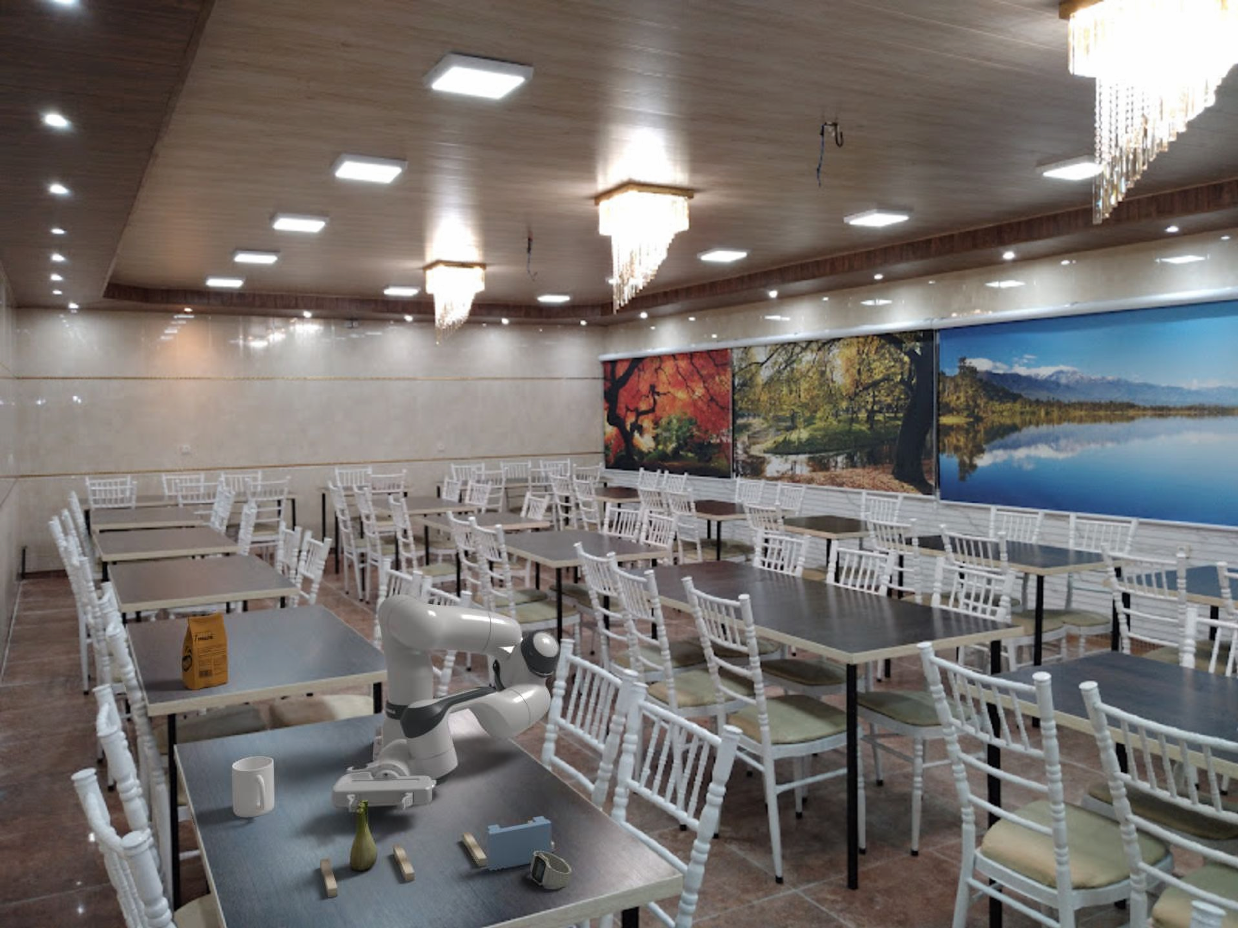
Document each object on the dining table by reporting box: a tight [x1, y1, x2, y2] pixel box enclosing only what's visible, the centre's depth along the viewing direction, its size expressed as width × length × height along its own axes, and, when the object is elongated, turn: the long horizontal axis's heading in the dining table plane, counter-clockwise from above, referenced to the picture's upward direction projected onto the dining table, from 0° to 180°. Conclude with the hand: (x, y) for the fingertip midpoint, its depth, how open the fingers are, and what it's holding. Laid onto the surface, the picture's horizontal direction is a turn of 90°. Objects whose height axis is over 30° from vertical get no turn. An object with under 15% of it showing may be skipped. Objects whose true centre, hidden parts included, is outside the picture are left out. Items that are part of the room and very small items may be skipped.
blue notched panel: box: [486, 815, 553, 872], centre depth 180 cm, size 4×12×7 cm, turn 114°
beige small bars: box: [319, 819, 555, 898], centre depth 180 cm, size 12×42×2 cm, turn 114°
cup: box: [231, 755, 275, 818], centre depth 202 cm, size 8×12×10 cm
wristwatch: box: [529, 851, 572, 888], centre depth 173 cm, size 9×6×5 cm
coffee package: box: [181, 611, 229, 691], centre depth 296 cm, size 10×12×22 cm
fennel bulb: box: [349, 800, 378, 872], centre depth 177 cm, size 6×5×12 cm
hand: (376, 807), depth 189 cm, fingers open, 8 cm apart
